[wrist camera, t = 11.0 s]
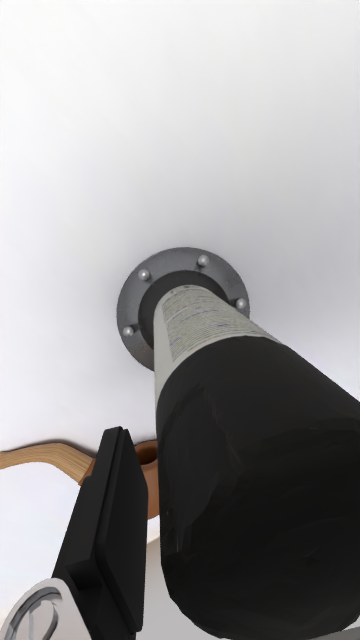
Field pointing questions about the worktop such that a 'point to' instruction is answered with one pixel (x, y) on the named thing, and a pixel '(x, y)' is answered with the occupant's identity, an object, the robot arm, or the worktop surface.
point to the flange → (161, 278)
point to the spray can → (253, 477)
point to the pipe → (87, 464)
